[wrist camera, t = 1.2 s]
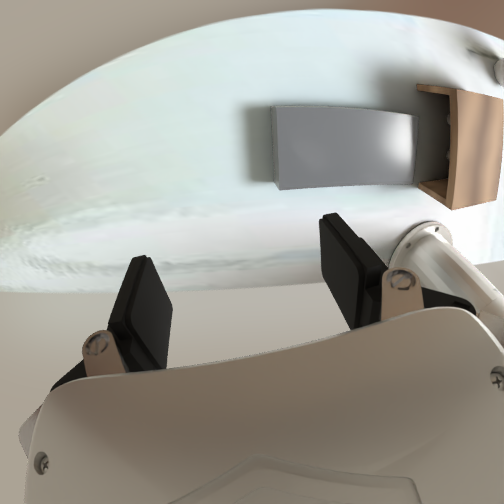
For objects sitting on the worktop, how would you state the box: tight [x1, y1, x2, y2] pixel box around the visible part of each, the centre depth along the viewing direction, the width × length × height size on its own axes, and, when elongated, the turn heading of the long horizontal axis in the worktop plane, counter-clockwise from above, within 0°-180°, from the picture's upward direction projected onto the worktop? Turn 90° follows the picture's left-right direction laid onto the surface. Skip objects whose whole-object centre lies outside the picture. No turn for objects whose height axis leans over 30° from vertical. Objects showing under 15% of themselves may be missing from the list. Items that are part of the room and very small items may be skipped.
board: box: [271, 106, 419, 190], centre depth 26 cm, size 16×8×3 cm, turn 94°
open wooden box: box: [417, 84, 504, 210], centre depth 24 cm, size 10×14×7 cm
